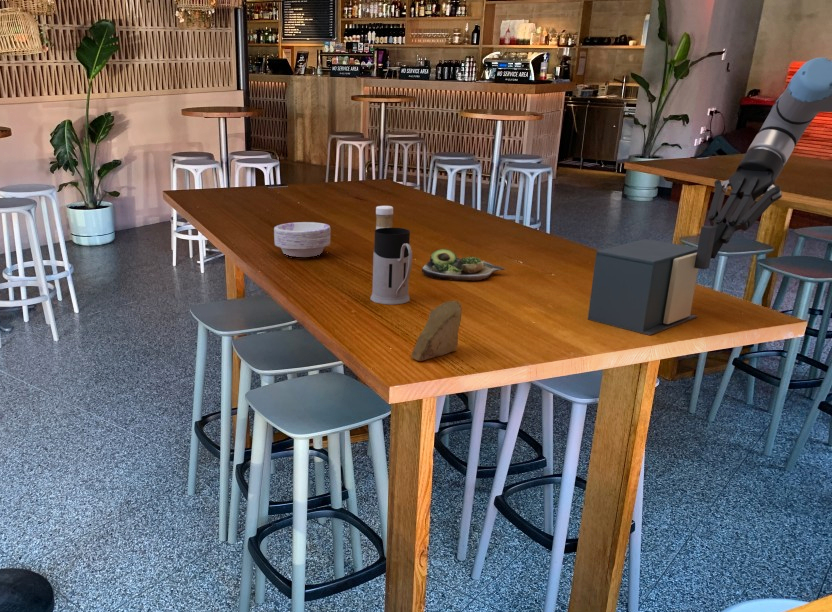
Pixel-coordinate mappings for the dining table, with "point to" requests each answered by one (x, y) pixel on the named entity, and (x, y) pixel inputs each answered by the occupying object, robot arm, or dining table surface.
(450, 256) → the salad plate
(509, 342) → the dining table surface
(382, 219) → the sprinkles bottle
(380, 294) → the glass holder
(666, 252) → the cabinet
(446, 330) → the rock
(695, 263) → the sliding door
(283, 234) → the paper bowls
